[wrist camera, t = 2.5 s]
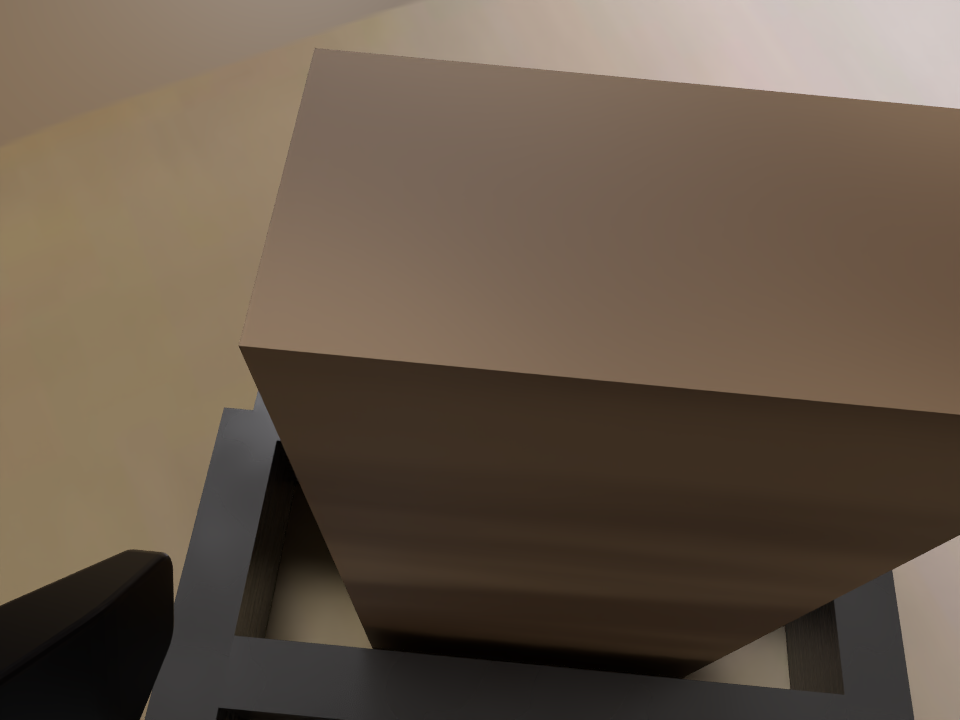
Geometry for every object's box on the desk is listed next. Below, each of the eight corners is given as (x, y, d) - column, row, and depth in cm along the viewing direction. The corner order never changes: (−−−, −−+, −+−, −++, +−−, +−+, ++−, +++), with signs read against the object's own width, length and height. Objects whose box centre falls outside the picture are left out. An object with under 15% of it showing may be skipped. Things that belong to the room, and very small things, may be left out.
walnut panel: (682, 677, 17) (1156, 433, 6) (372, 648, 17) (239, 345, 6) (678, 537, 19) (1053, 117, 7) (391, 509, 19) (313, 47, 7)
